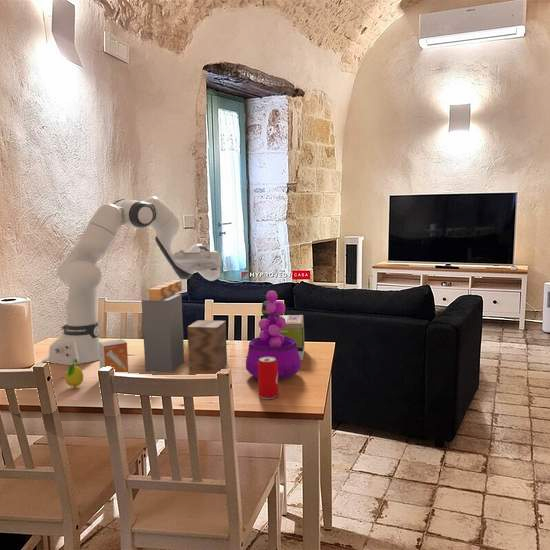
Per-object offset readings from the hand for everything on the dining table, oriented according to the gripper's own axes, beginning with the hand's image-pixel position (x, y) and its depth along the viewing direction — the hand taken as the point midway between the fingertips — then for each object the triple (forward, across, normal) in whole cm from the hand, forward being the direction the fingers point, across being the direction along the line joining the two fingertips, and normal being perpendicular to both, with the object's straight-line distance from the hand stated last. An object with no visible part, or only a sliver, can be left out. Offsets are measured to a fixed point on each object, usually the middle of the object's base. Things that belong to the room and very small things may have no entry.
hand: (191, 251), depth 224 cm
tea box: (-10, +43, +41) cm, 60 cm away
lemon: (+34, -20, +61) cm, 73 cm away
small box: (+25, -12, +57) cm, 63 cm away
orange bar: (+18, 0, +24) cm, 30 cm away
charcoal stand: (+10, 0, +50) cm, 51 cm away
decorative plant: (+15, +42, +53) cm, 69 cm away
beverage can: (+32, +45, +61) cm, 82 cm away
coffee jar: (-24, +32, +34) cm, 52 cm away
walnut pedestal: (+8, +16, +49) cm, 52 cm away
